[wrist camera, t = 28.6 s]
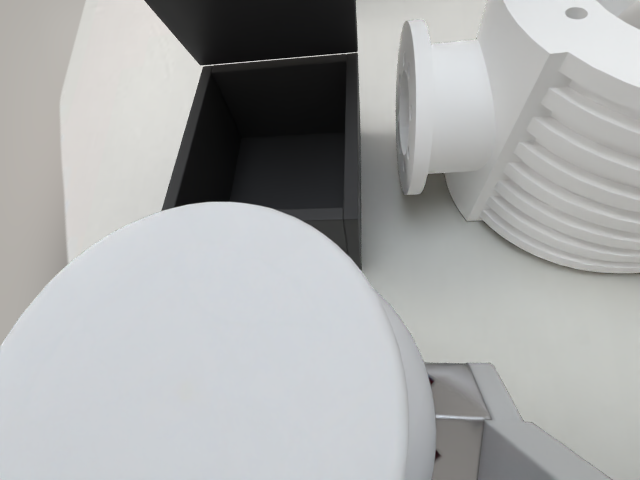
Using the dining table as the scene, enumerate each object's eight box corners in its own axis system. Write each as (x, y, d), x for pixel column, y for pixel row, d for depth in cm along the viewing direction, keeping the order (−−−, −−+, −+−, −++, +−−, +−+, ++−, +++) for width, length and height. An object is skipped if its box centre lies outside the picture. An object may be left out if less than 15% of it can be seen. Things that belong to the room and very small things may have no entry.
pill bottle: (398, 528, 12) (570, 1238, 2) (225, 491, 13) (-321, 772, 3) (405, 341, 14) (486, 161, 4) (261, 324, 15) (54, 148, 5)
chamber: (361, 272, 26) (358, 219, 19) (211, 272, 27) (157, 223, 20) (360, 131, 32) (357, 52, 25) (237, 138, 33) (202, 66, 26)
